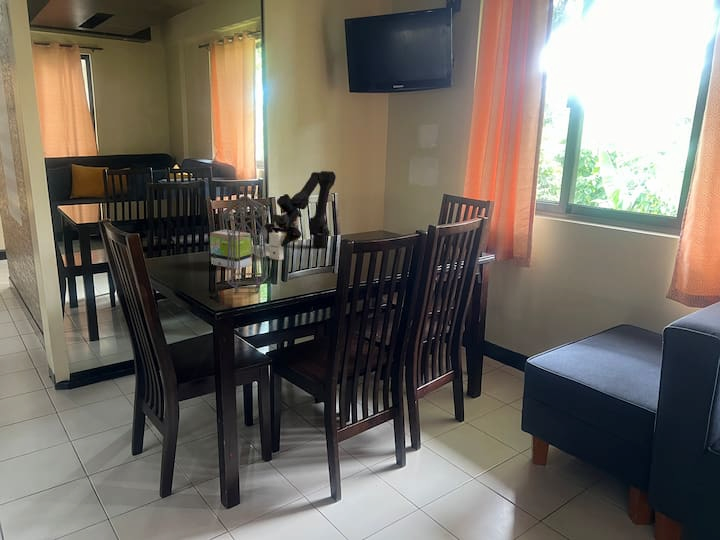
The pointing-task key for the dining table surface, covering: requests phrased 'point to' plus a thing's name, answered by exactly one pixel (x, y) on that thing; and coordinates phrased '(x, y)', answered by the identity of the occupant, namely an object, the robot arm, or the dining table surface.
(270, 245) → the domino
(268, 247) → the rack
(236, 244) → the tea box
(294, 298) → the dining table surface
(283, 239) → the candy box
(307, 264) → the dining table surface
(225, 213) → the geometric lantern
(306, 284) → the dining table surface
